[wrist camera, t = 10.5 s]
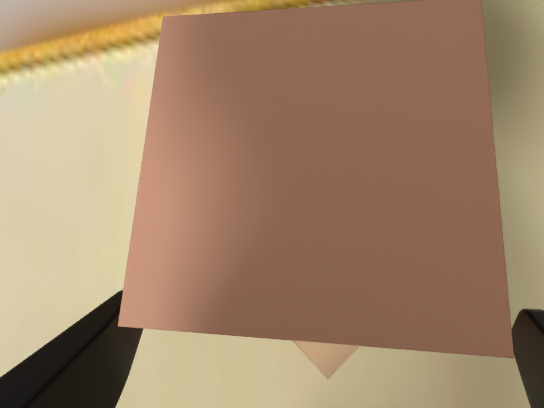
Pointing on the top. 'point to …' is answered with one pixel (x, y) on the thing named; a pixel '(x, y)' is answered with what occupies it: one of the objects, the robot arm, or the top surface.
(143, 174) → the pillar
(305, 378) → the top surface
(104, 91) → the top surface
